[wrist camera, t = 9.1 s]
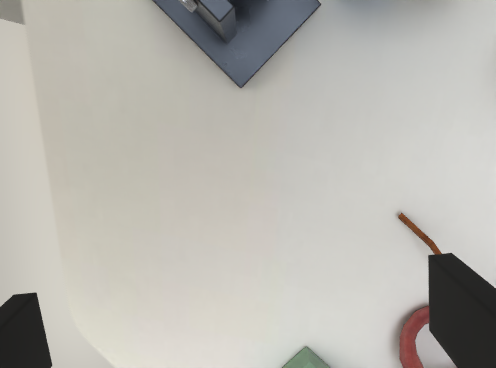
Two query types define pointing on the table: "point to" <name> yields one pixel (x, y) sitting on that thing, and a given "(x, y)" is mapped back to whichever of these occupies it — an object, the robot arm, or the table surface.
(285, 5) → the bracket
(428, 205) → the table surface
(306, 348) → the control block
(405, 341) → the red curved piece
